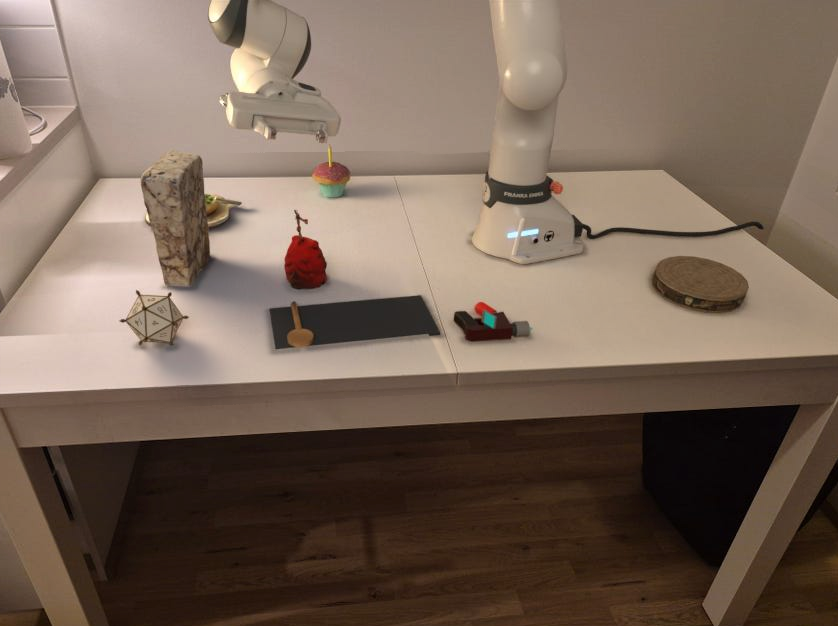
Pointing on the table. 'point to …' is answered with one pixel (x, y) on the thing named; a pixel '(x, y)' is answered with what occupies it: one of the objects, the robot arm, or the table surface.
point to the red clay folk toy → (304, 261)
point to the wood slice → (700, 284)
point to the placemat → (356, 320)
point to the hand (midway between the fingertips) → (298, 137)
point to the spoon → (299, 331)
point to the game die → (154, 318)
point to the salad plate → (214, 209)
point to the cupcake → (331, 177)
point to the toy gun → (489, 325)
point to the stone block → (178, 216)
